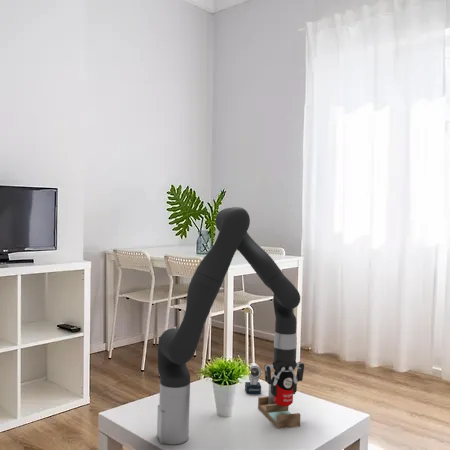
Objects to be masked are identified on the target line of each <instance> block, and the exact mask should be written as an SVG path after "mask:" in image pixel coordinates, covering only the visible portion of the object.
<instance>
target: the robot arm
mask: <svg viewBox="0 0 450 450" xmlns="http://www.w3.org/2000/svg"><path fill="white" fill-rule="evenodd" d="M214 223H215V227H216V229H217V231H218V234H217V237H216V239H215V242H214V243H213V245H212V247H211V248H210V250H209V251H208V252H207V254H206V255H205V256H204V257H203V258H202V260H201V261H200V262H199V264H198V266H197V267H196V269H195V271H194V273H193V275H192V278H191V280H190V282H189V285H188V287H187V295H186V304H185V305H186V306H185V312H184V315H183V318H182V321H181V323H180V325H179V327H178V328H174V327H171V328H169V329H166V330H165V331H163V332H162V334H161V335H160V336H159V339H158V342H157V371H158V376H159V403H158V405H157V419H156V423H157V426H156V437H157V439H158V442H159V443H160V444H166V445H179V444H180V445H181V444H184V443H185V442H187V441H188V440H189V436H190V435H189V434H190V406H191V405H190V403H191V400H190V398H191V373H190V371H189V369H188V367H187V363H189V361H190V360H191V359H192V358H193V357H194V355H195V352H196V351H197V348H198V345H199V341H200V338H201V336H202V333H203V329H204V326H205V325H206V322H207V319H208V317H209V314H210V312H211V310H212V307H213V304H214V302H215V300H216V298H217V296H218V294H219V292H220V289H221V287H222V285H223V283H224V280H225V278H226V275H227V272H228V271H229V269H230V265H231V263H232V260H233V258H234V256H235V254H236V251H238V252H239V253H240V254H241V256H243V257H244V259H245V260H246V261H247V263H248V264H249V265H250V267H251V268H252V269H253V271H254V272H255V273H256V275H257V276H258V277H259V279H260V280H261V281H262V282H263V284H264V285H265V286H266V287H267V288H269V289H270V290H271V291H272V293H273V297H272V300H273V310H274V316H275V323H274V324H275V326H274V336H273V357H272V358H273V362H272V364H265V365H264V367H263V369H264V381H265V382H266V383H267V385H269V384H271V394H272V395H273V396H276V394H277V386H276V384H277V382H278V380H279V376H280V373H281V372H282V371H284V370H289V371H290V370H292V373H293V374H294V382H293V395H295V394H296V393H297V391H298V390H297V389H298V387H297V386H298V383H299V382H302V381H303V379H304V371H305V364H304V363H303V362H301V361H298V362H297V345H298V342H297V338H298V337H297V316H296V315H295V314H294V309H295V308H297V307H299V304H300V303H301V294H300V292H299V290H298V289H297V288H296V286H295V285H294V284H293V283H292V282H291V281H290V280H289V279H288V278H287V277H286V276H285V274H284V273H283V272H282V270H281V268H280V267H279V266H278V264H277V263H276V261H275V260H274V259H273V258H272V257H271V256H270V254H269V253H267V251H265V250H264V248H262V247H261V246H260V245H259V244H257V242H256V241H255V240H254V239H253V238H252V237H251V236H250V234H249V233H248V230H249V228H250V223H251V219H250V215H249V212H248V210H246V209H245V208H243V207H240V206H232V207H227V208H224V209H221V210H219V211H218V212H217V215H216V216H215V221H214ZM273 370H274V371H273ZM295 370H296V373H295ZM272 371H273V373H272ZM275 372H276V373H278V375H277V376H276V375H275Z"/></svg>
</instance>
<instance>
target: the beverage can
mask: <svg viewBox="0 0 450 450" xmlns="http://www.w3.org/2000/svg"><path fill="white" fill-rule="evenodd" d="M275 375H276V376H277V375H278V373H276V372H275ZM293 382H294V374H293V373H292V370H290V371H289V370H284V371H282V372H281V373H280V376H279V380H278V382H277V384H276V386H277V394H276V396H274V402H275V403H276V404H277V405H279V406H283V407H286V406H288V407H289V406H291V405H292V404H293V401H294V394H293Z"/></svg>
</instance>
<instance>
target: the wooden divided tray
mask: <svg viewBox="0 0 450 450" xmlns="http://www.w3.org/2000/svg"><path fill="white" fill-rule="evenodd" d="M267 395H268V396H258V398H257V399H258V400H257V409H258V410H259V411H260V412H261V413H262V414H263V415H264V416H265V417H266V418H267V419H268V421H270V423H271V424H272V425H273V426H275V428H277V429H285V428H286V429H288V428H297V427H301V413H299V412H297V413H291V412H290V411H289V406H286V407H283V406H279V405H277V404H276V403H275V402H274V396H273V395H272V394H271V384H268V394H267Z"/></svg>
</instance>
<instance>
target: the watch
mask: <svg viewBox="0 0 450 450" xmlns="http://www.w3.org/2000/svg"><path fill="white" fill-rule="evenodd" d="M249 367H250V371H251V374H250V376H249V375H248V378H249V379H248V380H249V381H245V383H244V391H245V393H246V395H262V385H261V383H260V378H261V375H262V374H263V371H262V369H261V368H260V366H259V365H258V364H257V363H256V362H253V363H252V362H251V363H249Z"/></svg>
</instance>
